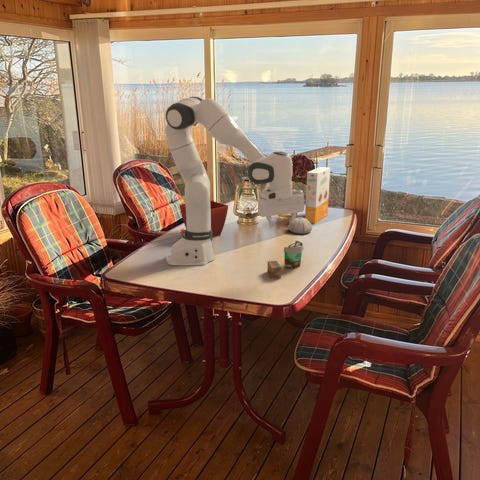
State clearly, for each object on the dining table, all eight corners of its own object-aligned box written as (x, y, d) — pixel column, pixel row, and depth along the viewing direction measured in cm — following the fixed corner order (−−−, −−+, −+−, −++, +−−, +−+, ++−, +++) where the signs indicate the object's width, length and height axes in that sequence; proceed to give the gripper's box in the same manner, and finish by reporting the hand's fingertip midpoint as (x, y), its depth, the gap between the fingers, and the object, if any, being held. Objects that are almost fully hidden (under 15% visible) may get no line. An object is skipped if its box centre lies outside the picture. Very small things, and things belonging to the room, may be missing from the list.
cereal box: (317, 214, 300) (320, 167, 291) (327, 215, 297) (330, 167, 288) (304, 222, 281) (307, 172, 272) (314, 224, 278) (317, 173, 269)
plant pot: (200, 243, 243) (200, 211, 238) (179, 234, 257) (178, 204, 252) (229, 236, 255) (229, 205, 250) (207, 228, 269) (207, 199, 264)
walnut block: (271, 279, 198) (271, 267, 196) (267, 272, 205) (267, 261, 204) (280, 278, 199) (281, 267, 197) (276, 271, 206) (276, 260, 205)
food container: (295, 271, 206) (296, 249, 203) (283, 268, 209) (283, 247, 206) (307, 263, 216) (308, 242, 213) (295, 260, 219) (296, 240, 216)
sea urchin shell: (305, 227, 272) (306, 214, 270) (316, 234, 260) (317, 219, 257) (284, 229, 268) (284, 215, 266) (294, 236, 256) (294, 221, 253)
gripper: (300, 188, 201) (299, 219, 205) (256, 193, 194) (256, 225, 198) (307, 190, 195) (307, 223, 200) (262, 195, 188) (262, 229, 192)
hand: (281, 224), depth 199 cm, fingers open, 8 cm apart
